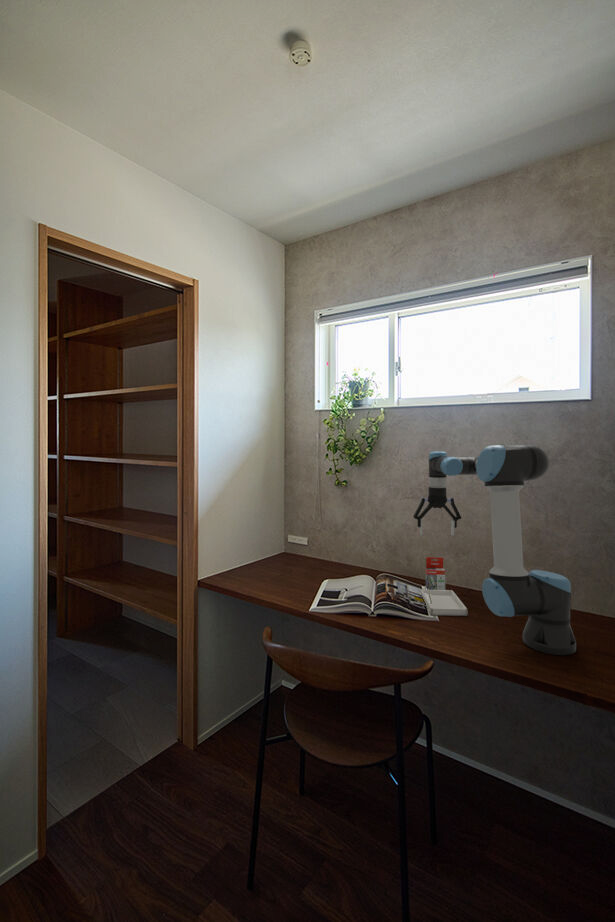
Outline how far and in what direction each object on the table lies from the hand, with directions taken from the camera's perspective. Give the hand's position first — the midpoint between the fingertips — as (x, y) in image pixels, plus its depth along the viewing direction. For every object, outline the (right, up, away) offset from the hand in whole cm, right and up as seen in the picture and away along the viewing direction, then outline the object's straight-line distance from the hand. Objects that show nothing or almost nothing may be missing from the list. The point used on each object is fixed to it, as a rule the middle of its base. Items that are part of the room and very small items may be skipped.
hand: (436, 534), depth 191 cm
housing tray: (-3, -26, -16) cm, 30 cm away
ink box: (-1, -25, +1) cm, 25 cm away
